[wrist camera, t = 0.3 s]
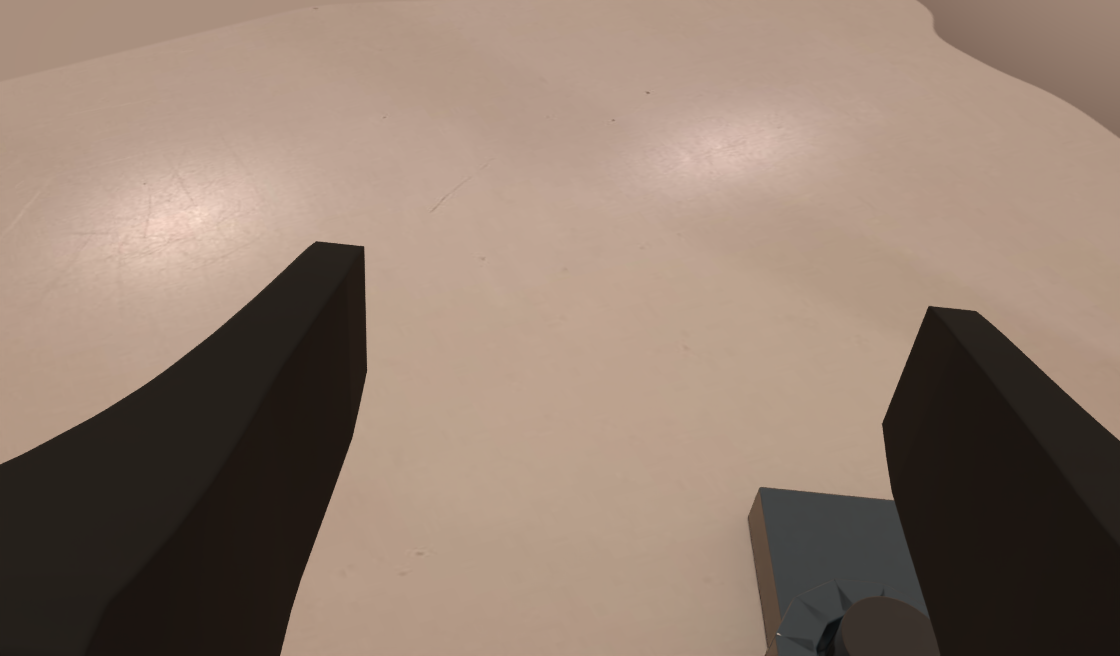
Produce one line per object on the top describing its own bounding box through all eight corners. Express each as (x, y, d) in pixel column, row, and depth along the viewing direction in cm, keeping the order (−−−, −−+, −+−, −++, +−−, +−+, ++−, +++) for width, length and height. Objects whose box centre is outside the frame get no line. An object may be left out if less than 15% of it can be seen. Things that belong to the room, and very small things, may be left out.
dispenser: (1126, 845, 30) (1189, 790, 28) (761, 816, 29) (795, 758, 27) (1009, 541, 38) (1050, 480, 36) (721, 513, 38) (745, 449, 35)
